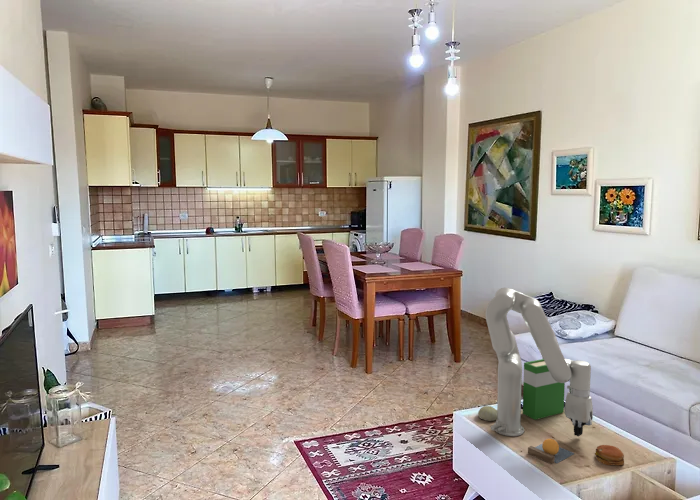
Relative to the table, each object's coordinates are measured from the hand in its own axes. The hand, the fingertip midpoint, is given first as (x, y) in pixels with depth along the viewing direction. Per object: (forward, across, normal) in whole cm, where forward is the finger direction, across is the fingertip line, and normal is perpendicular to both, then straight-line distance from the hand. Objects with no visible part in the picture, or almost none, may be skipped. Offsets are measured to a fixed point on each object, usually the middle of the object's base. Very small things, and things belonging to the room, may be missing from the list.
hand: (578, 434), depth 210 cm
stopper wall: (+2, 0, -26) cm, 26 cm away
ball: (-2, +1, -21) cm, 21 cm away
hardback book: (+2, -23, +11) cm, 26 cm away
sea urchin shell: (+2, -35, -13) cm, 37 cm away
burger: (+2, +16, -7) cm, 18 cm away
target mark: (+2, 0, -19) cm, 19 cm away
